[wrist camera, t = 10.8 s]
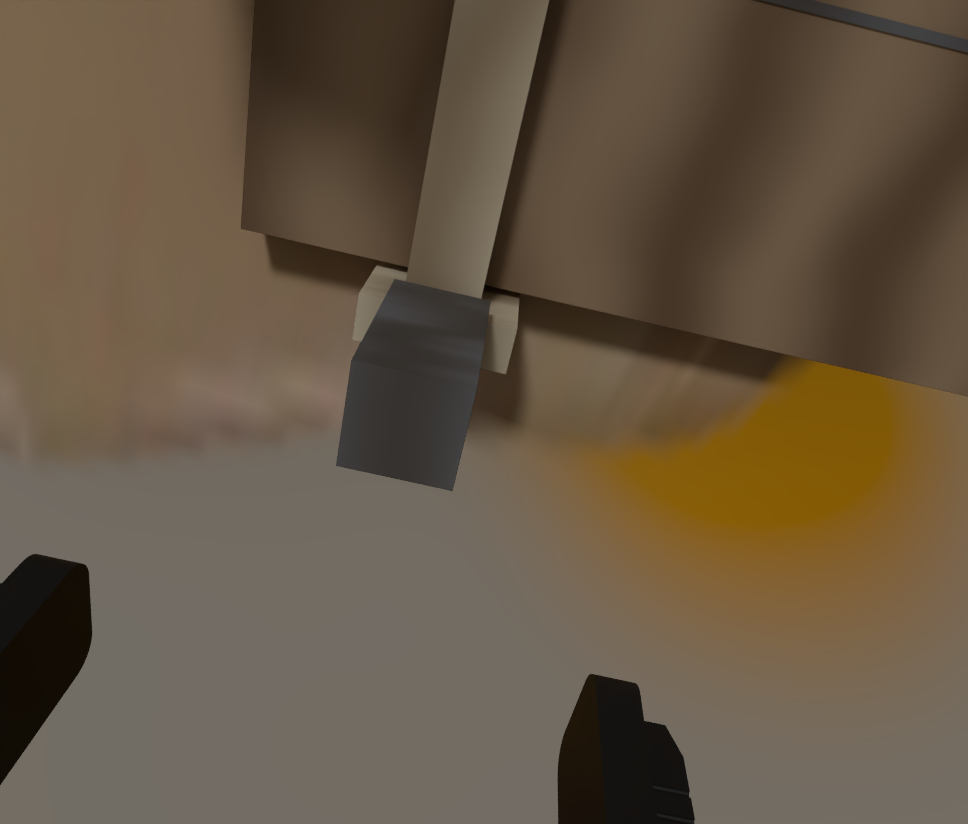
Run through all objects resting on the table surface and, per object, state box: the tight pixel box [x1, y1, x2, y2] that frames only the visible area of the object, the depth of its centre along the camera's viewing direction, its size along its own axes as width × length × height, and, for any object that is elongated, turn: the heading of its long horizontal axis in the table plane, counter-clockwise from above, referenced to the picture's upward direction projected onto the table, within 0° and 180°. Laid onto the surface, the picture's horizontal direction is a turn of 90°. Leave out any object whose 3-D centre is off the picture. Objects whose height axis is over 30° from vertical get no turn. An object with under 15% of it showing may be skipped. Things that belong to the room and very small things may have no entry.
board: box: [241, 0, 968, 396], centre depth 23 cm, size 30×14×2 cm, turn 78°
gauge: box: [336, 0, 549, 491], centre depth 20 cm, size 5×13×10 cm, turn 168°
